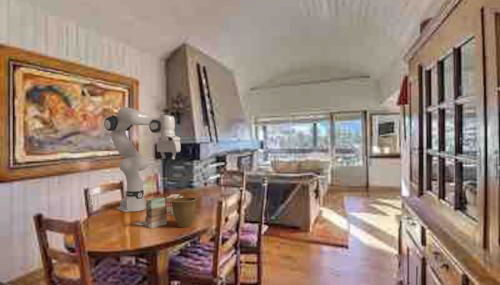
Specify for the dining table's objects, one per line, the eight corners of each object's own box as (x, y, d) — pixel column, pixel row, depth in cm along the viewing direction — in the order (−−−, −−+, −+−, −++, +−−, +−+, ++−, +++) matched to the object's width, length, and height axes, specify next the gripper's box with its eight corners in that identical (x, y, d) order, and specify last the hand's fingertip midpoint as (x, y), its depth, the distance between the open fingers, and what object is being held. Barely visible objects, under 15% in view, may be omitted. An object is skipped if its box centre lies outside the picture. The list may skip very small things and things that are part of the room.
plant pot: (201, 223, 195) (201, 197, 194) (187, 230, 181) (187, 202, 181) (181, 221, 201) (181, 196, 201) (166, 227, 187) (165, 200, 187)
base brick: (145, 226, 190) (145, 216, 190) (160, 222, 199) (160, 212, 199) (151, 228, 187) (151, 218, 187) (166, 223, 196) (166, 214, 196)
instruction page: (133, 223, 197) (133, 223, 197) (146, 220, 204) (146, 220, 204) (140, 225, 193) (140, 225, 193) (153, 222, 200) (153, 221, 200)
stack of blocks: (175, 208, 239) (175, 191, 239) (184, 208, 239) (183, 191, 239) (166, 215, 218) (165, 197, 218) (175, 215, 218) (174, 197, 217)
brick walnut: (146, 216, 190) (146, 208, 190) (160, 213, 198) (159, 205, 198) (151, 217, 187) (151, 209, 187) (165, 214, 196) (165, 206, 195)
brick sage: (146, 208, 190) (146, 199, 190) (160, 205, 198) (159, 197, 198) (151, 209, 187) (151, 200, 187) (165, 206, 195) (165, 197, 195)
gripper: (154, 138, 216) (154, 158, 216) (174, 138, 204) (174, 159, 205) (161, 138, 221) (162, 158, 222) (182, 138, 209) (182, 159, 210)
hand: (168, 158), depth 213 cm, fingers open, 8 cm apart
